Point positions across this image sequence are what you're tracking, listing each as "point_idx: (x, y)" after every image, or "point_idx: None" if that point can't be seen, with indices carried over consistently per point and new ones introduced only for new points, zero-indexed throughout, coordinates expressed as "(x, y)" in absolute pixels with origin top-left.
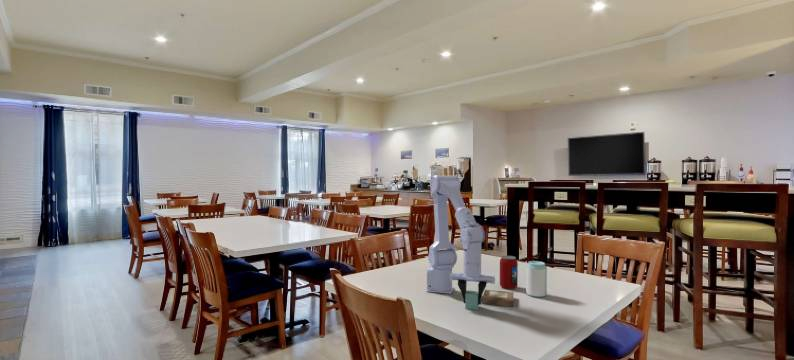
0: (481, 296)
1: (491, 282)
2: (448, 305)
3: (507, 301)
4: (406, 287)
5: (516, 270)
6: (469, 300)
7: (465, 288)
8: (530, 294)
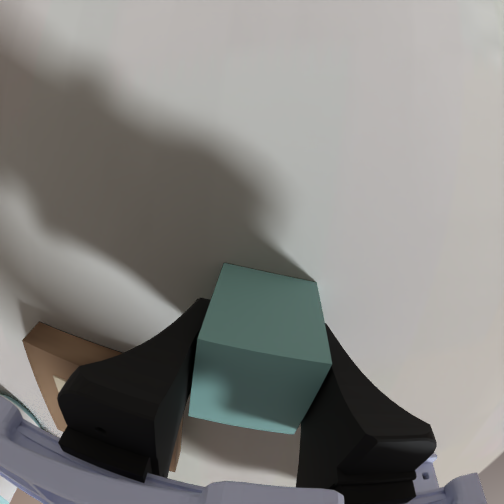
0: (164, 329)
1: (9, 414)
2: (413, 329)
3: (48, 345)
4: (475, 460)
5: None
6: (287, 315)
7: (323, 426)
8: (23, 412)
